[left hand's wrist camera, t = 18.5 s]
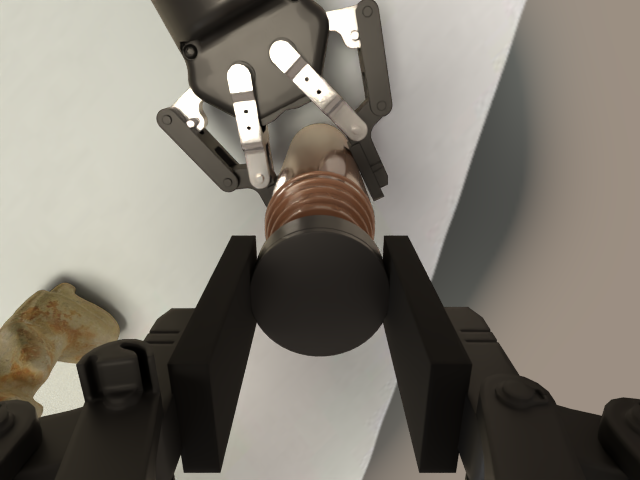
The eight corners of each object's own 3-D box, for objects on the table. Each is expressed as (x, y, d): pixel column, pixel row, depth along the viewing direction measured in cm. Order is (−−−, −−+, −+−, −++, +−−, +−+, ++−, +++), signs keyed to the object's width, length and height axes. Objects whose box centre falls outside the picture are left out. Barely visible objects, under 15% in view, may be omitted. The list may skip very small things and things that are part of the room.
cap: (229, 281, 15) (220, 305, 13) (312, 187, 14) (311, 201, 12) (326, 350, 16) (327, 379, 14) (410, 268, 15) (420, 290, 13)
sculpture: (91, 356, 40) (-32, 515, 26) (26, 301, 38) (-146, 441, 24) (136, 322, 39) (32, 469, 25) (71, 262, 36) (-83, 386, 23)
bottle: (304, 195, 35) (285, 368, 15) (277, 139, 33) (216, 251, 13) (361, 170, 34) (417, 317, 14) (335, 112, 32) (360, 188, 13)
